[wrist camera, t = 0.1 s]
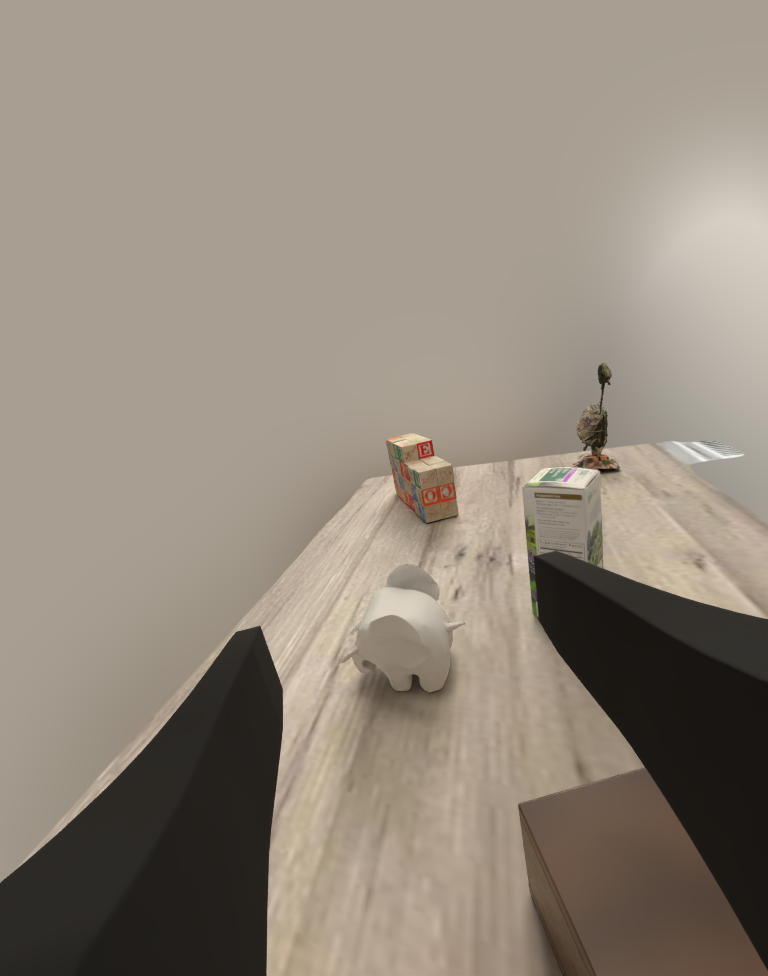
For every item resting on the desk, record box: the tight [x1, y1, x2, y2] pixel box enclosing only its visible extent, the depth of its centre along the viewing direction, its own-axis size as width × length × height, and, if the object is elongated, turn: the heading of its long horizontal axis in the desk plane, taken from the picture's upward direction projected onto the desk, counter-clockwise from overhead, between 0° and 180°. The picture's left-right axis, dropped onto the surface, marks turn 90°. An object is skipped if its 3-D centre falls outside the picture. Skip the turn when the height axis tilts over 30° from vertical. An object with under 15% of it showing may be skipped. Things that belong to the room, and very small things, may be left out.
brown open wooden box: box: [518, 768, 768, 976], centre depth 17 cm, size 12×11×6 cm
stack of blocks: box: [386, 433, 458, 523], centre depth 83 cm, size 21×6×12 cm, turn 13°
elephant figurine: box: [337, 564, 465, 692], centre depth 40 cm, size 10×12×9 cm
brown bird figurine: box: [573, 363, 620, 470], centre depth 84 cm, size 8×11×20 cm
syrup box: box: [522, 467, 603, 617], centre depth 43 cm, size 6×6×14 cm
